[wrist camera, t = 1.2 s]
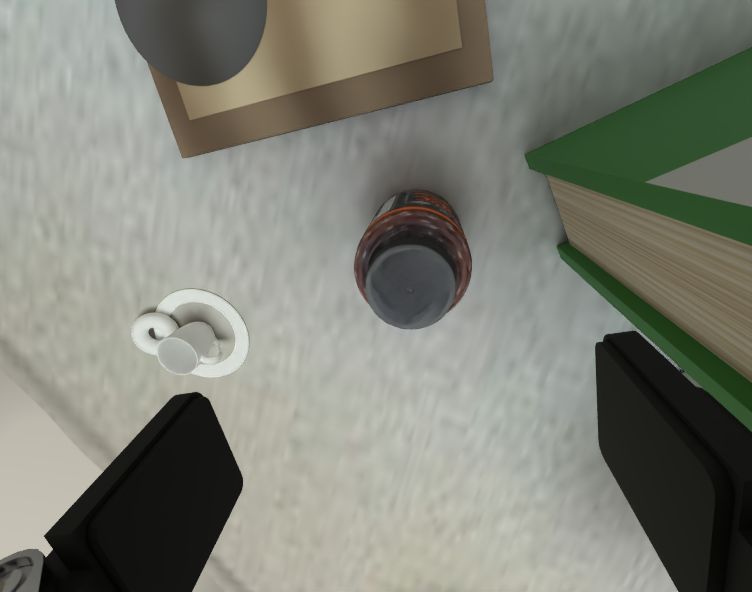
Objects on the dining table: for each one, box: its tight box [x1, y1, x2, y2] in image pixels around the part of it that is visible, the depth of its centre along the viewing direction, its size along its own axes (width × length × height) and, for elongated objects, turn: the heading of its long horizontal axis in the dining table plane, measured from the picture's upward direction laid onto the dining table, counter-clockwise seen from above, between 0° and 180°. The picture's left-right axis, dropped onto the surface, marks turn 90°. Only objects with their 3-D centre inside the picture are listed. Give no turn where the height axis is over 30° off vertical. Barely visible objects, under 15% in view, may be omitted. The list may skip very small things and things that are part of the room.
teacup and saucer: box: [131, 289, 249, 377], centre depth 32 cm, size 9×8×4 cm
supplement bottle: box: [354, 190, 472, 329], centre depth 23 cm, size 6×6×11 cm
